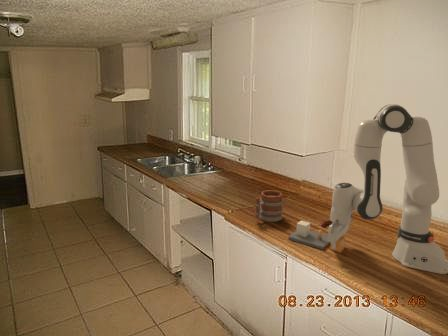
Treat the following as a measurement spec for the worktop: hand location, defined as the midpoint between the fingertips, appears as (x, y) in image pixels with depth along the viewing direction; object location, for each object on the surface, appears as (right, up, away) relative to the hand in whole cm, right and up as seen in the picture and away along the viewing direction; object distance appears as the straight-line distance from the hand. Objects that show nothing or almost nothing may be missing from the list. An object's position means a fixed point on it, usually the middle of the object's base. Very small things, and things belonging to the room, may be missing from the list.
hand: (337, 244), depth 159 cm
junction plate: (-10, 0, +10) cm, 14 cm away
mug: (-29, +7, +36) cm, 47 cm away
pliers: (+10, +4, +28) cm, 30 cm away
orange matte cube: (0, -2, 0) cm, 2 cm away
